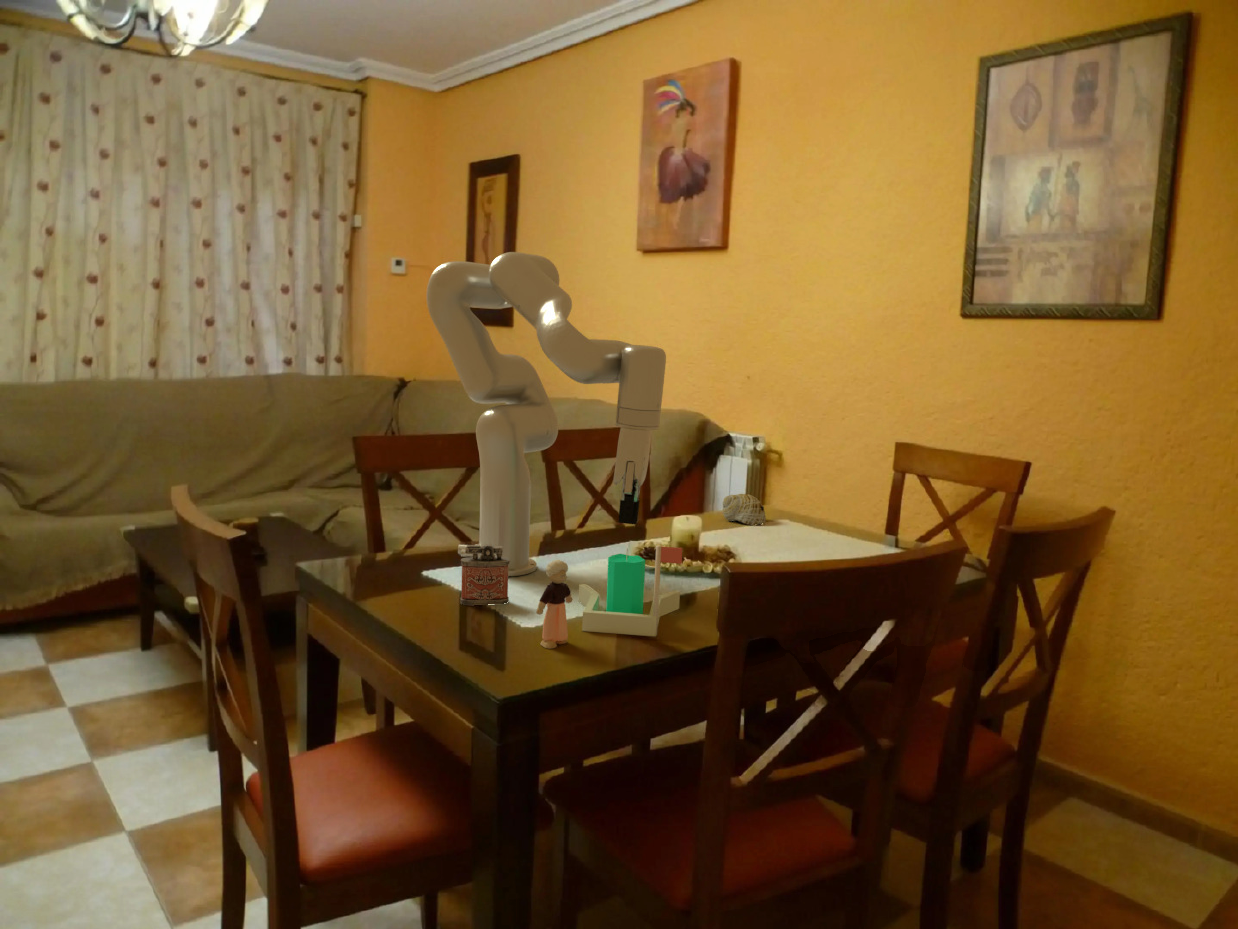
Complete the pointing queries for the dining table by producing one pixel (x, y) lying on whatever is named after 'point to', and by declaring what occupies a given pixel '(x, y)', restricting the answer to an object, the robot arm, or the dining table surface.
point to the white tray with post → (630, 621)
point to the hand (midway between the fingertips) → (627, 522)
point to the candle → (625, 584)
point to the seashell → (743, 509)
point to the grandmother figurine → (555, 605)
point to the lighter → (484, 576)
